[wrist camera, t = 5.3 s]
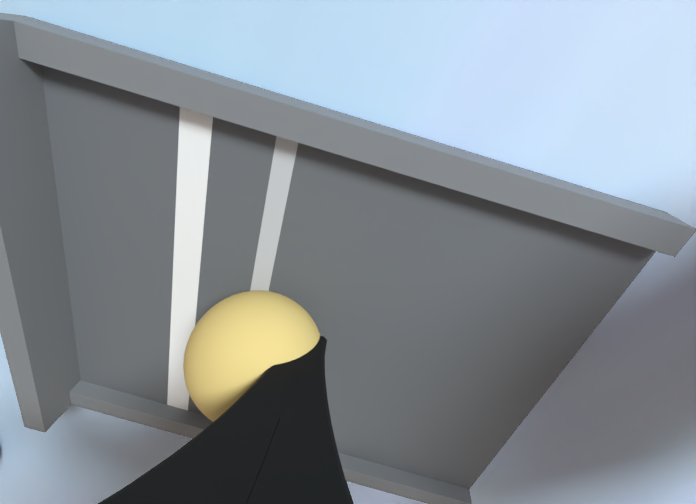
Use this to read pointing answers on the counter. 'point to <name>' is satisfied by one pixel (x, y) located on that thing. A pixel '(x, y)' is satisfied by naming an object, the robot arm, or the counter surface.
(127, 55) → the lane
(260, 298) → the ball
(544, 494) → the counter surface
